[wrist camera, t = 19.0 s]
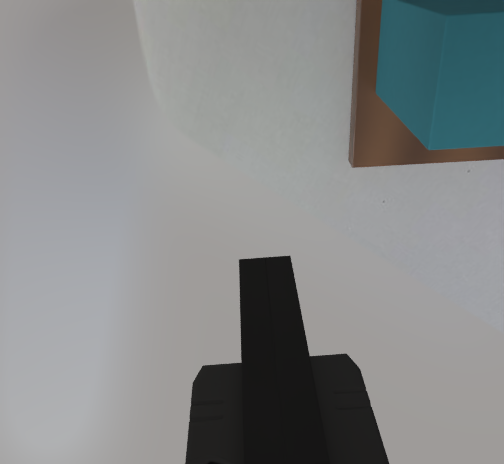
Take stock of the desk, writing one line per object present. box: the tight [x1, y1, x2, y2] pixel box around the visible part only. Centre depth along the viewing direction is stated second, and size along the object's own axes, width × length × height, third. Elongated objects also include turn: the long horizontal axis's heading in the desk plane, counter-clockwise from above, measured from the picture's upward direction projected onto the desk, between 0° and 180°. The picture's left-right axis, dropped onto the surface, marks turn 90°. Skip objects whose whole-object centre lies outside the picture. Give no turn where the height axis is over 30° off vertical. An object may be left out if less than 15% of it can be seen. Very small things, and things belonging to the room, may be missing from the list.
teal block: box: [376, 0, 504, 150], centre depth 21 cm, size 8×5×9 cm, turn 93°
